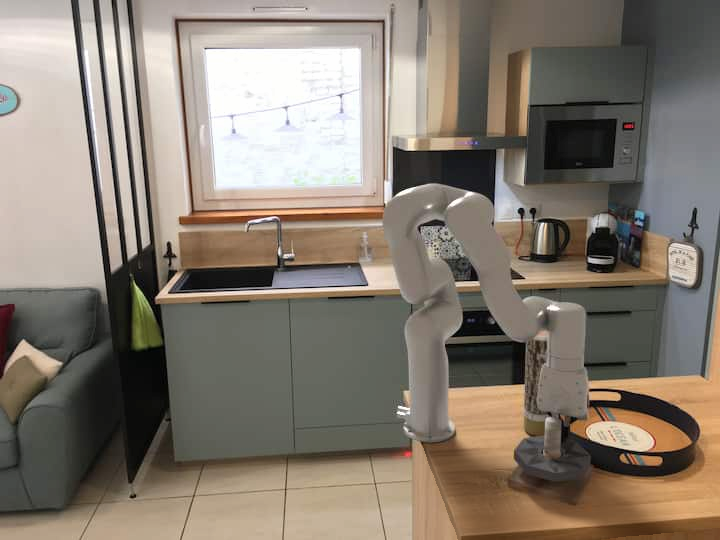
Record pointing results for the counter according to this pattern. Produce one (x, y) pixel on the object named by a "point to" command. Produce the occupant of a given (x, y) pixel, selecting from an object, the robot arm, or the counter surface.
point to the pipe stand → (555, 490)
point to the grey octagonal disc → (552, 460)
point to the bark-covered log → (534, 385)
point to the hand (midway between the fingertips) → (561, 439)
